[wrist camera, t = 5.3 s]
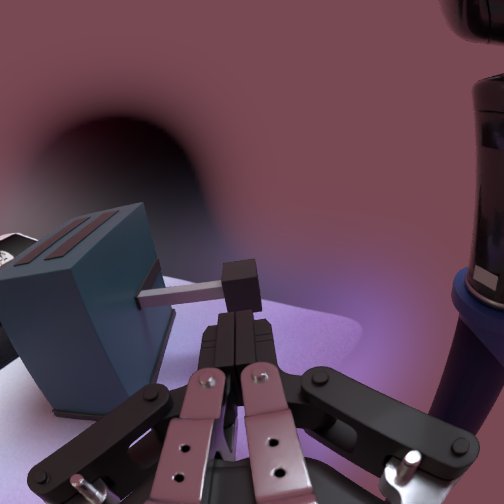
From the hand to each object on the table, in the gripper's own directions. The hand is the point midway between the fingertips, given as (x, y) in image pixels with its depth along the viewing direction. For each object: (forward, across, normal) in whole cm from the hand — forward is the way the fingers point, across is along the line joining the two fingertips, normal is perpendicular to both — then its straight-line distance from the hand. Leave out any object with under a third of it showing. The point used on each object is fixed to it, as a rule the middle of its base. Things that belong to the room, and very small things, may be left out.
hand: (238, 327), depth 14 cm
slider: (+8, +3, +4) cm, 10 cm away
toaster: (+8, +12, +8) cm, 17 cm away
